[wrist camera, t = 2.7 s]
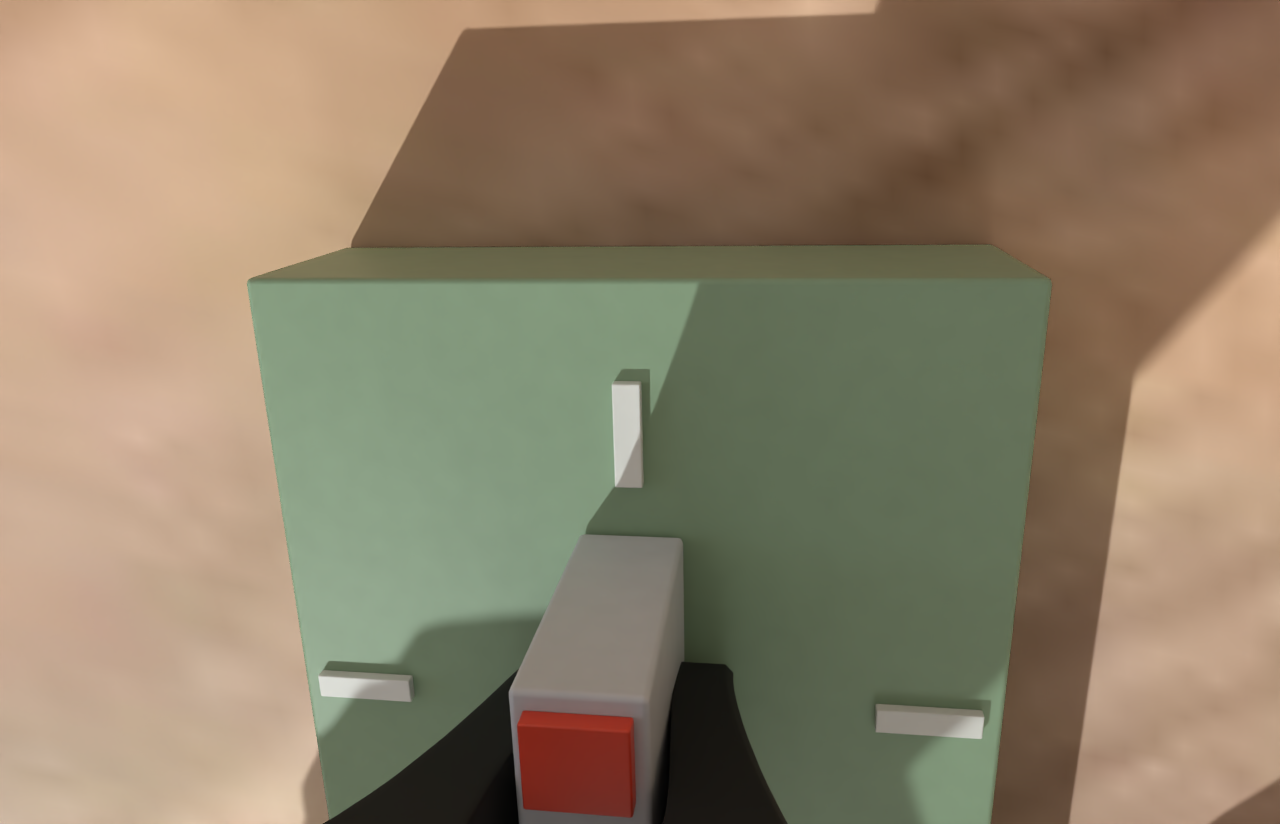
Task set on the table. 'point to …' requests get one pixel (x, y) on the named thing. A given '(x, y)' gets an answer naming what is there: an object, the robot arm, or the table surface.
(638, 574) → the tap handle
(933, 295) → the plate
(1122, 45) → the table surface
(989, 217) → the table surface
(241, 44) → the table surface
